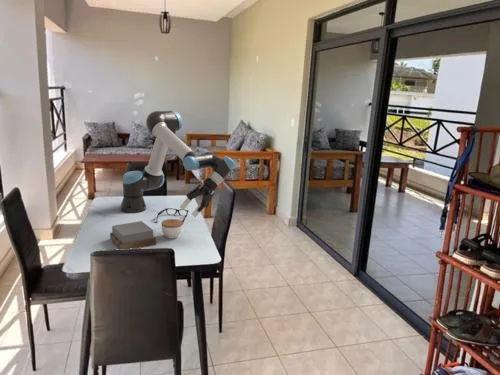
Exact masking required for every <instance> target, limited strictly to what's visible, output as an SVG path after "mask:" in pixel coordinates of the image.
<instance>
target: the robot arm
mask: <svg viewBox="0 0 500 375" xmlns="http://www.w3.org/2000/svg"><path fill="white" fill-rule="evenodd" d="M145 121H146V122H145V125H146V127H147V130H148V131H149V132H150V134H151V135H152V136H154V137H155V140H154V144H153V147H152V150H151V154H150V158H149V161H148V164H147V165H146V166H144V169H143V171H141V170H132V171H130V170H129V171H127V172H126V173H124V174H123V176H122V192H123V195H122V196H123V197H122V200H121V204H120V211H121V212H124V213H130V214H131V213H132V214H134V213H142V212H144V211H146V210H147V204H146V201H145V199H144V192H145V191H151V190H157V189H159V188H161V187H162V186H163V185H164V183H165V174H164V172H163V170H162V169H163V165H164V163H165V160H166V156H167V153H168V151H169V150H168V149H170V150H171V151H172V153H174V154H175V155H176V156H177V157H178V158H179V159H180V160H181V161H182V165H183V167H184V169H185V170H186V171H189V172H190V171H197V170H201V169H208V168H210V169H212V170H211V172H210V173H209V174H208V175H207V177H206V178H205V179H204V180H203V182H202V183H203V185H201V184H198V185H197V186H196V187H195V188H193V190H191V191H190V192H189V193H187V194H186V195H185V196H186V199H184V201H183V202H182V204H181V205H179V208H180V209H182V210H181V211H185V210H186V208H187V207H188V206H189V204H190V203H191V202H192V200H194V199H195V198H198V197H199V196H202V198H201V202H200V203H199V204H198V206H197V207H195V209H194V211H192V213H191V215H192V216H193V217H194V218H196V217H198V215H199V214H200V213H201V212H202V211H203V209H205V208H206V209H207V208H208V207H210V206H209V205H210V203H211V201H212V198H213V196H214V195H215V191H216V189H217V188H218V186H219V185H221V183H222V182H223V180H225V178H226V177H227V176H228V174H229V175H230V173H231V171H232V170H233V169H234V168H235V166H236V163H235V162H234V160H233V159H232V158H230V157H229V156H226V155H225V156H224V157H222V158H221V157H220V156H218V155H216V154H215V153H214V152H212V151H210V150H203V152H201V154H197V153H195V151H193V150H192V149H191V147H189V146H188V145H187V144H186V143H185V142H184V141H183V140H181V138H179V137H178V136H177V135H176V133H177V132H178V131H180V130H181V129H182V127H183V119H182V116H181V115H180V113H179V112H178V111H174V110H155V111H153V112H150V113H149V114H148V115H147V118H146V119H145Z"/></svg>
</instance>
